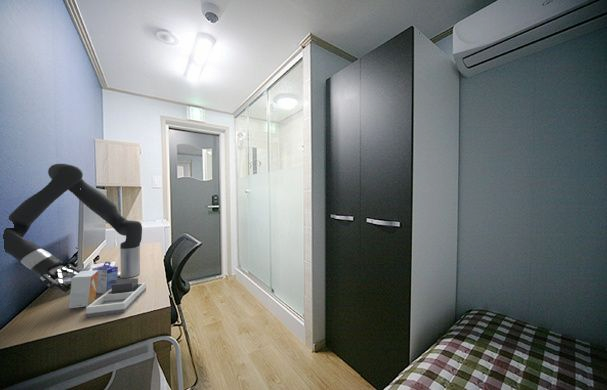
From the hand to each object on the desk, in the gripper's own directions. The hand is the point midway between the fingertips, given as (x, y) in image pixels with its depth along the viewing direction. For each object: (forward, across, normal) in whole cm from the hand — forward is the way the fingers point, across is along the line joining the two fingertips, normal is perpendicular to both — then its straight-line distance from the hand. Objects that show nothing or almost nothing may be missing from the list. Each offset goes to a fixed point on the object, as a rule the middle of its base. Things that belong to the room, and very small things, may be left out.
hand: (76, 285), depth 93 cm
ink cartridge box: (+9, +15, +5) cm, 18 cm away
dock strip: (+18, 0, -5) cm, 18 cm away
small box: (+7, 0, +4) cm, 8 cm away
